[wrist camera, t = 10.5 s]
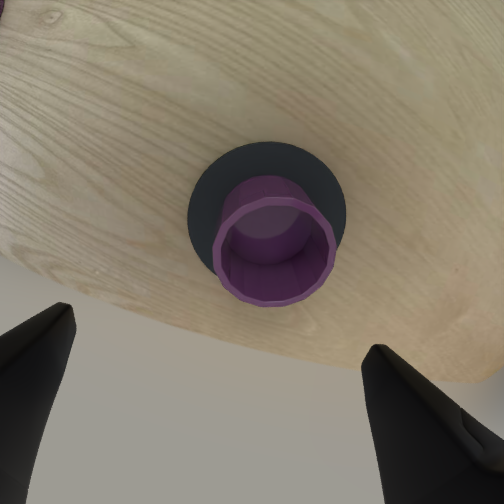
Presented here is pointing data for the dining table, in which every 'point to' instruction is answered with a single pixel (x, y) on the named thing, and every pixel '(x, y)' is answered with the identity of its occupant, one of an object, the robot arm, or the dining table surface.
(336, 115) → the dining table surface
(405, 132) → the dining table surface
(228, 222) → the purple cup
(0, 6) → the purple faceted cup
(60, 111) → the dining table surface
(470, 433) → the robot arm
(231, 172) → the coaster
